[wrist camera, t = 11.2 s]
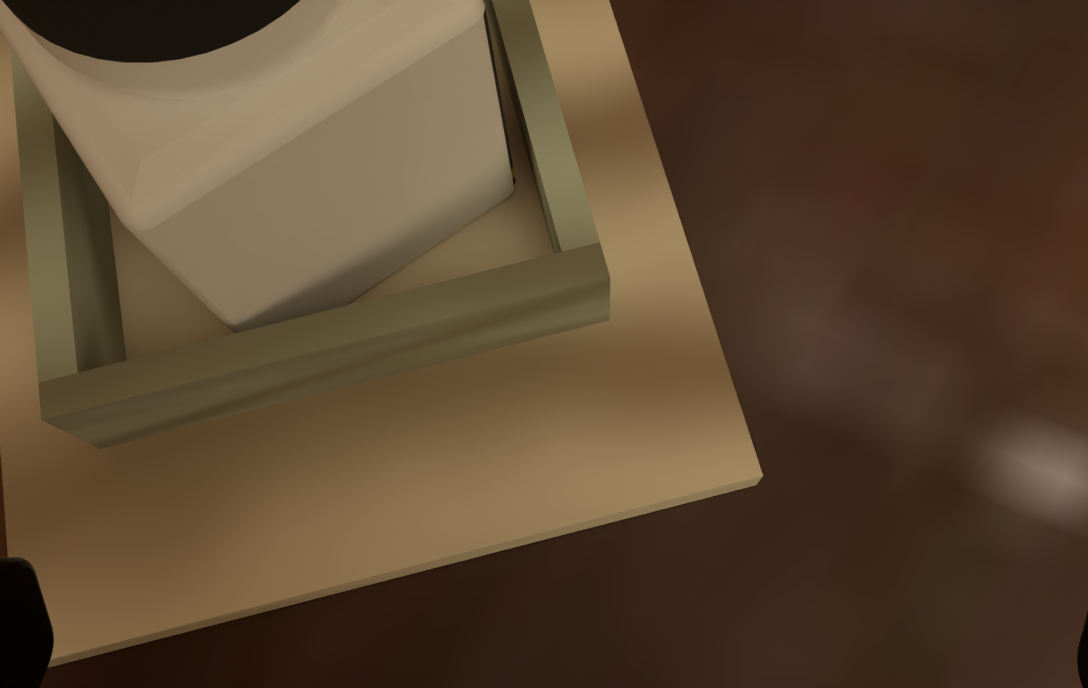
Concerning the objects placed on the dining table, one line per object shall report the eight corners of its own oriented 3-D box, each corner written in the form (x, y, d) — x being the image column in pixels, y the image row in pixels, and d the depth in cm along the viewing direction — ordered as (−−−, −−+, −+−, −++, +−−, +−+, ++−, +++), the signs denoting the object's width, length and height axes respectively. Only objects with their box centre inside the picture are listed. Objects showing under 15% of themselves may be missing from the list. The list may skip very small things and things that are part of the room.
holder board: (756, 485, 23) (782, 448, 19) (41, 669, 22) (-59, 664, 19) (539, -192, 29) (531, -306, 26) (-16, -60, 29) (-98, -158, 25)
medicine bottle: (523, 193, 24) (450, -255, 13) (263, 366, 23) (-67, 47, 12) (362, -7, 26) (177, -545, 15) (118, 143, 25) (-283, -311, 14)
